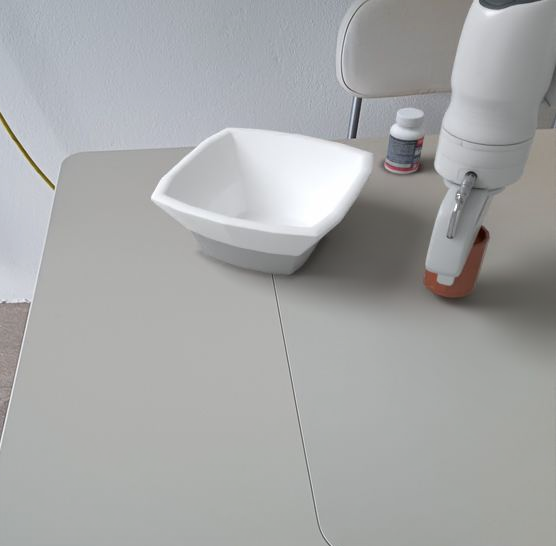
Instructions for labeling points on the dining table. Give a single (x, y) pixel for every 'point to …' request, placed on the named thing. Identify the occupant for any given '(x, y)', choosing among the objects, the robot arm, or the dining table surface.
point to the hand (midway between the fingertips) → (453, 263)
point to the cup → (468, 274)
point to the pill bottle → (405, 141)
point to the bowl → (263, 195)
